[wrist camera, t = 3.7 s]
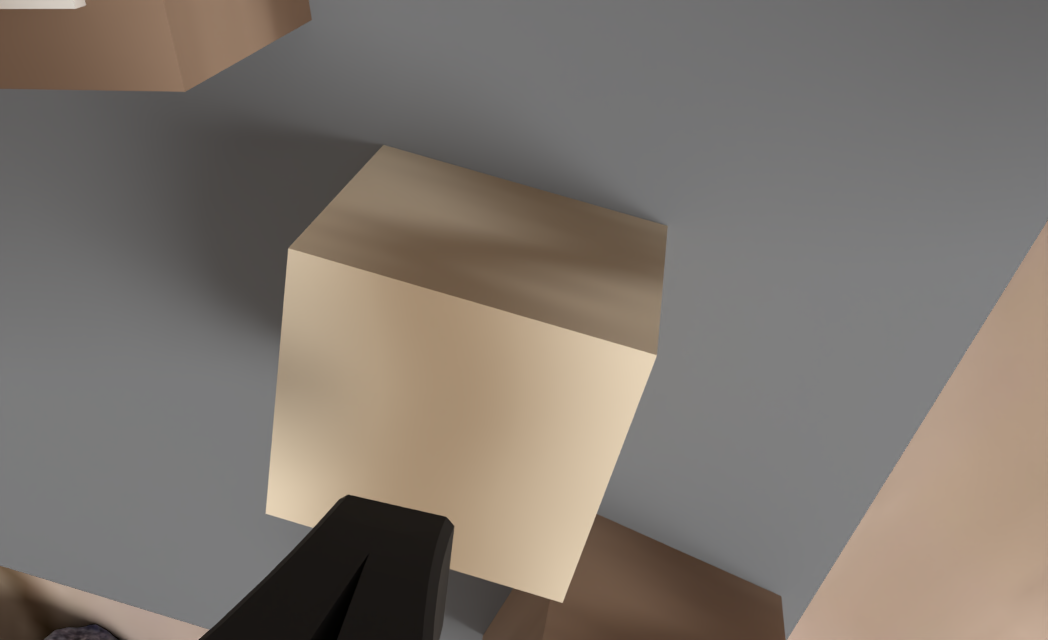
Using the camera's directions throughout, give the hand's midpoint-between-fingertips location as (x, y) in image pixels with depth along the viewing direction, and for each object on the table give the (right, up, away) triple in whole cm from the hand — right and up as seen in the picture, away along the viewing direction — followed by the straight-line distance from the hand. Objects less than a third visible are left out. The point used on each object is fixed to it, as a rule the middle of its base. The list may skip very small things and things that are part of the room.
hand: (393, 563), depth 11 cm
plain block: (+1, +3, +5) cm, 6 cm away
